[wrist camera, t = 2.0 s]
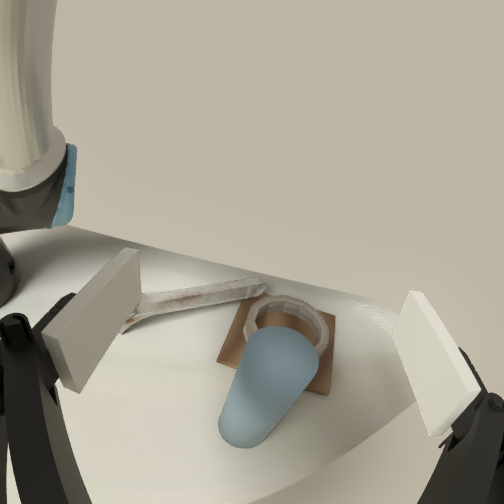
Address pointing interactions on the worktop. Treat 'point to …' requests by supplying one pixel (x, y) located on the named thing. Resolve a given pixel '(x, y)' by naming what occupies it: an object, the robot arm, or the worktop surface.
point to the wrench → (194, 298)
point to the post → (266, 384)
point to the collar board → (286, 315)
